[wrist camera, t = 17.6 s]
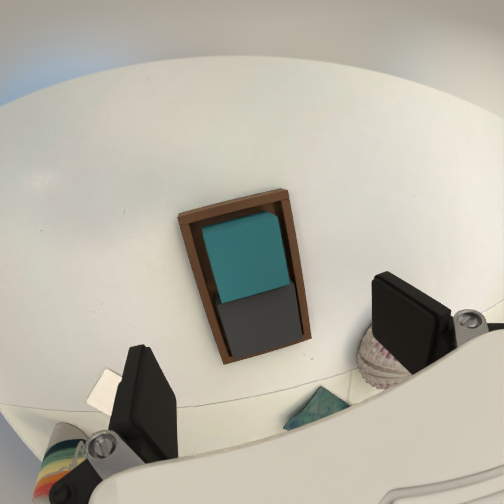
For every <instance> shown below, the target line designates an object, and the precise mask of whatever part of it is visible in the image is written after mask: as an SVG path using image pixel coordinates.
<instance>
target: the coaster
mask: <svg viewBox="0 0 504 504" xmlns="http://www.w3.org/2000/svg"><path fill="white" fill-rule="evenodd" d="M121 380H122V377H121V376H119V375H117V374H115V373H114V372H112V371H110V370H108V369H107V368H106V370H105V371H104V373H103V375H102V376H101V378H100V379H99V381H98V383H97V384H96V386H95V388H94V389H93V391H92V392H91V394H90V396H89V397H88V399H87V401H86V402H85V403H87V404H89V405H91V406H92V407H94V408H96V409H98V410H100V411H102V412H103V413H105V414H107V415H109V416H111V414H112V409H113V404H114V400H115V395H116V391H117V387H118V384H119V382H121Z"/></svg>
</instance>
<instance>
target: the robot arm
mask: <svg viewBox="0 0 504 504" xmlns="http://www.w3.org/2000/svg"><path fill="white" fill-rule="evenodd" d="M372 334H373V336H374V338H375V339H376V340H377V341H378V342H379V343H380V344H381V345H382V346H383V347H384V348H385V349H386V350H387V351H388V352H389V353H390V354H391V355H392V356H393V357H394V358H395V359H396V360H397V361H398V362H399V363H400V364H401V365H402V366H403V367H404V368H405V369H406V370H408V371H409V372H410V373H411V374H412V376H410V377H408V378H407V379H405V380H403V381H401V382H399V383H398V384H396V385H394V386H392V387H390V388H388V389H386V390H384V391H382V392H380V393H378V394H376V395H374V396H372V397H370V398H368V399H366V400H364V401H362V402H360V403H358V404H355V405H353V406H351V407H349V408H346V409H344V410H342V411H339V412H337V413H335V414H332V415H330V416H327V417H325V418H322V419H320V420H317V421H314V422H312V423H309V424H306V425H304V426H301V427H298V428H295V429H292V430H289V431H286V432H283V433H280V434H277V435H274V436H270V437H267V438H264V439H260V440H257V441H253V442H249V443H245V444H242V445H238V446H233V447H229V448H225V449H220V450H216V451H211V452H207V453H202V454H197V455H191V456H186V457H180V458H178V443H177V408H176V397H175V394H174V392H173V391H172V389H171V387H170V385H169V383H168V381H167V380H166V378H165V376H164V374H163V372H162V370H161V368H160V366H159V364H158V362H157V360H156V358H155V356H154V354H153V352H152V350H151V348H150V347H146V346H145V345H143V344H142V345H138V346H133V347H130V348H129V352H128V356H127V359H126V363H125V367H124V371H123V376H122V380H121V382H119V384H118V387H117V391H116V395H115V400H114V404H113V409H112V414H111V419H110V424H109V429H108V430H101V431H98V432H96V433H94V434H93V435H91V436H90V437H89V438H88V440H87V441H86V443H85V446H84V453H85V455H86V457H87V458H86V459H85V460H84V461H83V462H81V463H80V464H79V465H78V466H76V467H75V468H74V469H72V470H71V471H70V472H69V473H67V474H66V475H65V476H63V477H62V478H61V479H59V480H58V481H57V482H55V483H54V484H53V485H52V487H51V489H50V491H49V501H50V504H504V323H487V322H486V319H485V317H484V316H483V315H482V314H481V313H480V312H478V311H475V310H470V309H465V310H461V311H458V312H457V313H456V314H455V315H454V317H452V316H451V310H450V309H449V308H447V307H446V306H444V305H442V304H441V303H439V302H438V301H436V300H435V299H433V298H431V297H430V296H428V295H426V294H425V293H423V292H422V291H420V290H418V289H417V288H415V287H413V286H412V285H410V284H408V283H407V282H405V281H403V280H402V279H400V278H398V277H397V276H395V275H393V274H392V273H390V272H388V271H386V272H383V273H380V274H378V275H376V276H375V277H374V280H372Z"/></svg>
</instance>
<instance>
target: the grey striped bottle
mask: <svg viewBox="0 0 504 504" xmlns="http://www.w3.org/2000/svg"><path fill="white" fill-rule="evenodd" d="M87 440H88V439H87V437H86V435H85V434H84V433H83V432H82V431H81V430H80V429H78V428H76V427H75V426H73V425H70V424H67V423H59V424H57V425H56V426H55V428H54V431H53V433H52V436H51V439H50V441H49V444H48V447H47V450H46V453H45V456H44V459H43V462H42V465H41V469H40V472H39V476H38V479H37V482H36V486H35V490H34V494H33V498H32V501H33V503H34V504H50V501H49V491H50V489H51V487H52V485H53V484H54V483H55V482H57V481H58V480H59V479H61V478H62V477H63V476H65V475H66V474H67V473H69V472H70V471H71V470H72V469H74V468H75V467H76V466H78V465H79V464H80V463H81V462H83V461H84V457H85V453H84V446H85V443H86V441H87Z"/></svg>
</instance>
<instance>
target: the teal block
mask: <svg viewBox="0 0 504 504" xmlns="http://www.w3.org/2000/svg"><path fill="white" fill-rule="evenodd" d="M202 231H203V238H204V242H205V245H206V249H207V253H208V256H209V260H210V264H211V267H212V271H213V275H214V278H215V282H216V285H217V289H218V292H219V296H220V299H221V302H222V303H225V302H229V301H233V300H236V299H240V298H244V297H247V296H251V295H254V294H258V293H262V292H265V291H269V290H272V289H276V288H279V287H282V286H286V285H289V284H290V281H289V276H288V270H287V265H286V259H285V254H284V248H283V243H282V238H281V232H280V227H279V222H278V217H277V216H275V215H273V214H272V213H270V212H268V211H262V212H258V213H254V214H250V215H246V216H242V217H238V218H234V219H230V220H226V221H222V222H218V223H214V224H210V225H207V226H203V227H202Z"/></svg>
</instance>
